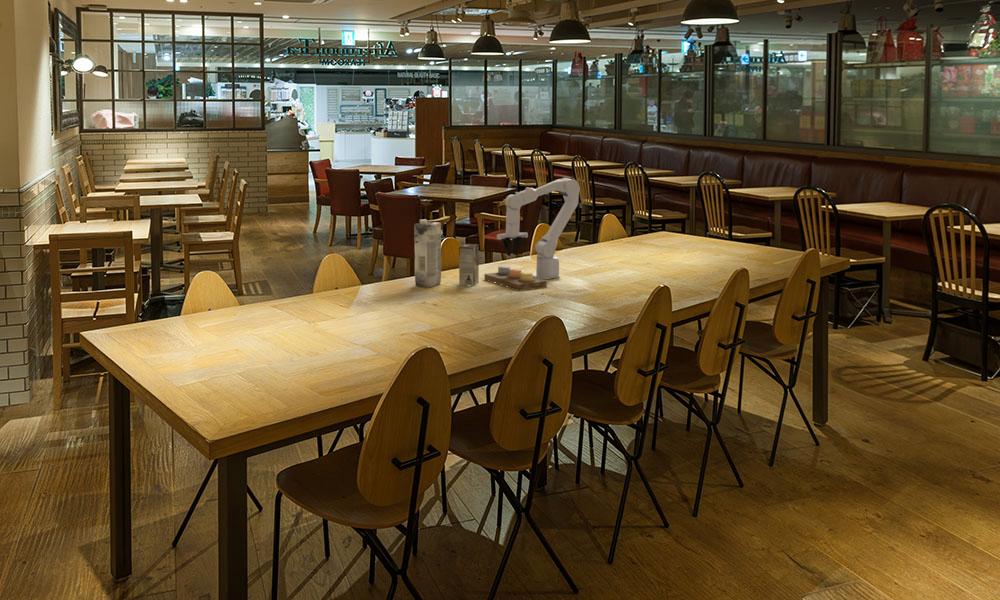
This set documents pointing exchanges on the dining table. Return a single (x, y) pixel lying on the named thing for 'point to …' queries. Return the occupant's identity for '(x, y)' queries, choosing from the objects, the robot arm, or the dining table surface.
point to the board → (515, 281)
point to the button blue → (503, 270)
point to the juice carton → (427, 253)
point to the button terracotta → (514, 273)
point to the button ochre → (526, 277)
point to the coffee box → (469, 264)
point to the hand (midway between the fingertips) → (511, 255)
